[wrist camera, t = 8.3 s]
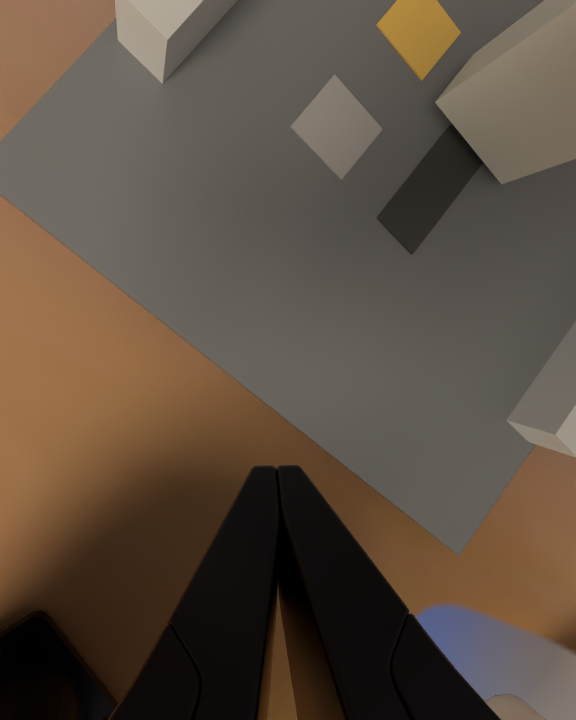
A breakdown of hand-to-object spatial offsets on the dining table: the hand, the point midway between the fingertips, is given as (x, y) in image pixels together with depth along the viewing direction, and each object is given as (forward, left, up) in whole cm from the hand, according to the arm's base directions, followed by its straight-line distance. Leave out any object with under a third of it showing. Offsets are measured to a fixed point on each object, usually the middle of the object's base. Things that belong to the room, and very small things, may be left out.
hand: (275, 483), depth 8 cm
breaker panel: (+3, -15, -13) cm, 20 cm away
